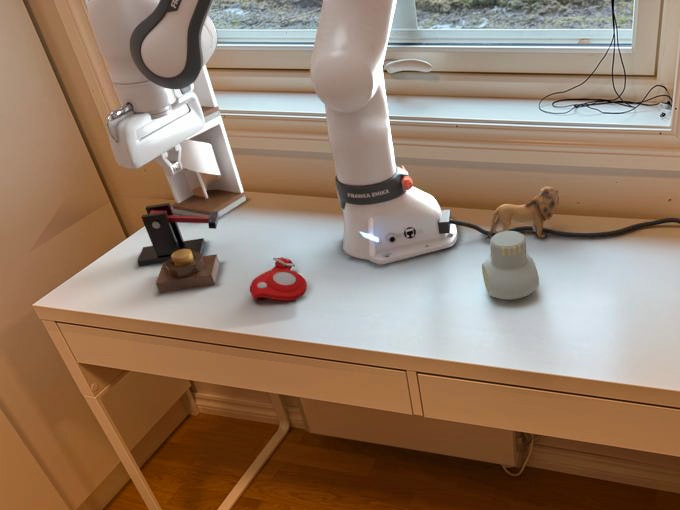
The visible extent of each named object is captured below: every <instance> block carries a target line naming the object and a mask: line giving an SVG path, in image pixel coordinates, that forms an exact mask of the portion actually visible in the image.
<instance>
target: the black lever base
mask: <svg viewBox="0 0 680 510" xmlns="http://www.w3.org/2000/svg"><path fill="white" fill-rule="evenodd" d="M151 210H163V211H167V213H166V212H161V213H154V214H150V212H151ZM145 211H146V212H147V213H146V214H142V215H141V220H142V222H143V225H144V227H145V230H146V233H147V235H148V237H149V240H150V242H151V245H148V246H142V249H141V251H140V253H139V256H138V258H137V261H136V262H137V264H138V266H139V267H146V266H152V265H158V264H163V262H166V261H167V260H168V259H169V258H171V255H172V254H173V253H174V252H175V251H177V250H181V249H190V250H191V251H194V252H199V253H200V254H201V255H202V256H203V253H204V250H205V246H206V241H205V238H203V237H201V238H195V239H189V240H184V238H183V236H182V233H181V229H180V227H179V225H178V222H170V221H169V219H168V216H167V215H175V213H174V210H173V207H172V205H171V203H170V202H166V203H160V204H153V205H146V206H145Z"/></svg>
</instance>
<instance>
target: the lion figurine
mask: <svg viewBox="0 0 680 510" xmlns="http://www.w3.org/2000/svg"><path fill="white" fill-rule="evenodd" d="M558 193H559V189H558V188H556V187H553V186H550V185H549V186H544V187H542V188H541V189H539V193H538V194H537V195H536V196H535V197H533V199H532V200H530V201H529V202H528V203H526V204H511V203H504V204H501V205H499V206H498V207H497V208H496V209H495V210H494V212H493V215H492V218H491V223H490V230H489V231H490V232H489V234H488V235H486V236H485V239H486V240H489V239H491V238H492V236H491V235H492V232H493V233H496V234H497V232H498V231H499V230H497V229H498V228H499V226H501V225H502V231H508V230H509V229H510V227H511V224H512V221H514V222H515V223H517V224H522V225H526V224H532V226H533V227H532V228H533V229H534V230H533V232H534V233H536V234H537V237H538V238H540V239H544V238H545V237H546V234H545V233H544V232H542V229H543V228H544V222H545V221H547V220H550V219H551V218H552V217H553V215H554V213H555V212H556V210H557V209H558V206H559V203H560V197H559V194H558Z"/></svg>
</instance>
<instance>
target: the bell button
mask: <svg viewBox="0 0 680 510" xmlns="http://www.w3.org/2000/svg"><path fill="white" fill-rule="evenodd" d="M171 257H172V260H173V262H174V265H175V266H182V265H186V264H189V263H191V262H192V261H194V257H193V254H192V252H191V250H190V249H181V250H177V251H175V252H174V253H173V254H172V255H171Z"/></svg>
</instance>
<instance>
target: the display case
mask: <svg viewBox="0 0 680 510" xmlns="http://www.w3.org/2000/svg"><path fill="white" fill-rule="evenodd" d="M193 84H194V90H193V91H192V92H194V93H195V94H196V96H197V98H198V100H199V103H200V106H201V108H202V112H203V115H204V119H205V124H204V129H202V130H201V131H199V132H197V133H196V134H194V135H192V136H191V137H189V138H187V139H186V140H184V141H183V142H181V143H180V146H181V160H180V161H181V164H182V167H183V169H182V170H180V171H179V172H177V173H176V174H174V175H173V176H167V175H165V178H166V180H167V183H168V185H169V188H170V191H171V193H172V196H173V199H174V201H175V203H173V204H171V207H172V210H173V213H174V215H179V216H210V214H211V211H215V212H218V214H219V218H220V217H222V216H224V215H225V214H227V213H228V212H230V211H232V210H233V209H235V208H236V207H238V206H239V205H241V204H242V203H244V202H246V201H247V198H246V194H245V191H244V188H243V184H242V180H241V177H240V174H239V171H238V167H237V164H236V161H235V158H234V154H233V151H232V148H231V145H230V142H229V138H228V135H227V131H226V128H225V125H224V122H223V118H222V114H221V111H220V108H219V105H218V102H217V98H216V95H215V92H214V89H213V86H212V82H211V78H210V75H209V71H208V68H207V65H206V64H205V65H204V67H203V68H202V69H201V71H200V74H199V76H198V77H197V79H196V80H195V82H193ZM167 154H168V157H167V160H168V161H170V160H169V151H167Z"/></svg>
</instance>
